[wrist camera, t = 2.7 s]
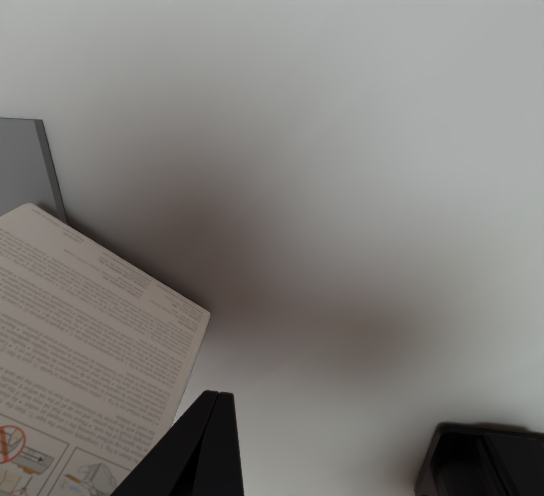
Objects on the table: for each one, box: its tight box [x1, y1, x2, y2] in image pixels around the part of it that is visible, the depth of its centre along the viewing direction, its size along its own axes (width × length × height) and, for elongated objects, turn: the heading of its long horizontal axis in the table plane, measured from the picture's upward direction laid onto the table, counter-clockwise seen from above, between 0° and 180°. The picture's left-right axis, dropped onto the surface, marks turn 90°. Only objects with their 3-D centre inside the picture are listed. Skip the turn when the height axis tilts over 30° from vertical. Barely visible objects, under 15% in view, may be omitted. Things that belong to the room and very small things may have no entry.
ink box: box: [0, 203, 211, 496], centre depth 10 cm, size 3×9×12 cm, turn 52°
